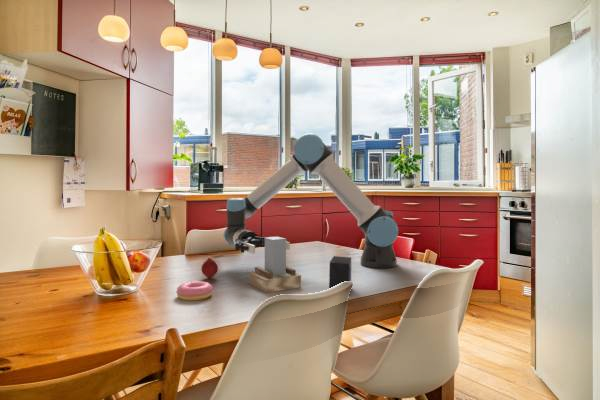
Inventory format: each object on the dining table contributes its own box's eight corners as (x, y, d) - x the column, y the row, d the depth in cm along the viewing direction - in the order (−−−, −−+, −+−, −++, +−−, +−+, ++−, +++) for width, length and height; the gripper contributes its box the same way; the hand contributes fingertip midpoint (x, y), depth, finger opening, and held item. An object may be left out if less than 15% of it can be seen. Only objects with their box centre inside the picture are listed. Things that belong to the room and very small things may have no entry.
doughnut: (183, 291, 130) (182, 279, 130) (216, 292, 129) (216, 279, 129) (171, 302, 119) (171, 288, 119) (208, 302, 119) (207, 288, 118)
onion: (221, 277, 148) (220, 256, 147) (211, 281, 143) (211, 258, 142) (208, 276, 150) (208, 254, 150) (198, 279, 145) (198, 257, 145)
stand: (282, 278, 146) (282, 263, 146) (300, 287, 135) (301, 270, 135) (249, 283, 139) (249, 267, 139) (266, 292, 128) (266, 274, 128)
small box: (349, 296, 124) (349, 262, 124) (328, 295, 126) (328, 262, 125) (351, 287, 135) (352, 256, 134) (332, 286, 136) (332, 255, 136)
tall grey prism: (277, 270, 140) (277, 236, 140) (285, 273, 135) (285, 238, 135) (264, 272, 138) (264, 237, 137) (272, 275, 133) (272, 239, 132)
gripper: (274, 246, 163) (302, 255, 145) (215, 252, 149) (238, 262, 131) (274, 228, 162) (302, 234, 144) (215, 232, 149) (238, 239, 131)
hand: (272, 247), depth 138 cm, fingers open, 13 cm apart
